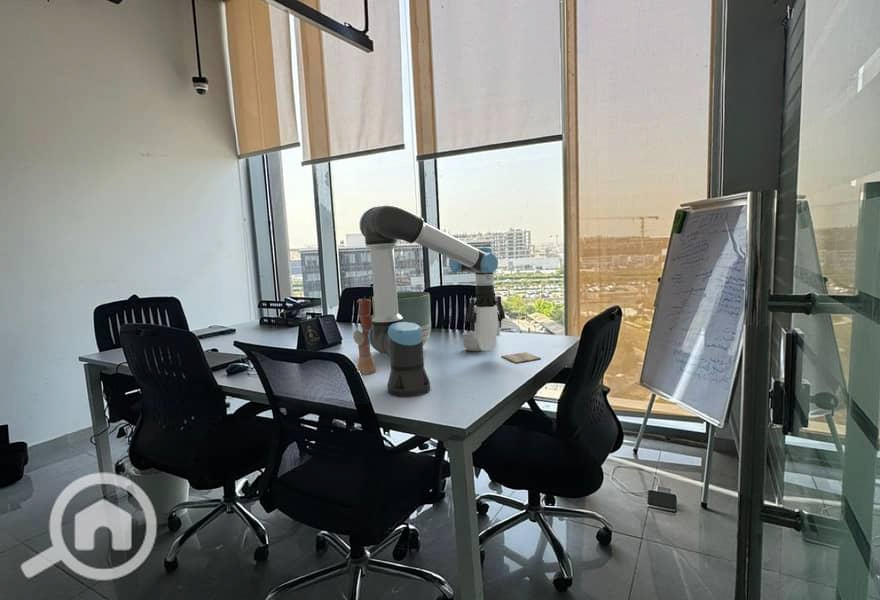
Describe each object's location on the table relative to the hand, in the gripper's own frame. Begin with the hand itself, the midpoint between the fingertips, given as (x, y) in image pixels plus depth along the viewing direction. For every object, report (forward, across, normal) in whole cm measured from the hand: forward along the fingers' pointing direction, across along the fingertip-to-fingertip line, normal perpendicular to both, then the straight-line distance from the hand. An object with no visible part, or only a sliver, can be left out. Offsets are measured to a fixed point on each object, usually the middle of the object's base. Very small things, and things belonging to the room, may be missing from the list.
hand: (486, 337), depth 202 cm
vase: (+11, -48, +10) cm, 51 cm away
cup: (+8, 0, 0) cm, 8 cm away
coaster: (+10, +14, -5) cm, 17 cm away
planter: (+11, -25, +35) cm, 45 cm away
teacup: (+10, +4, +18) cm, 21 cm away
